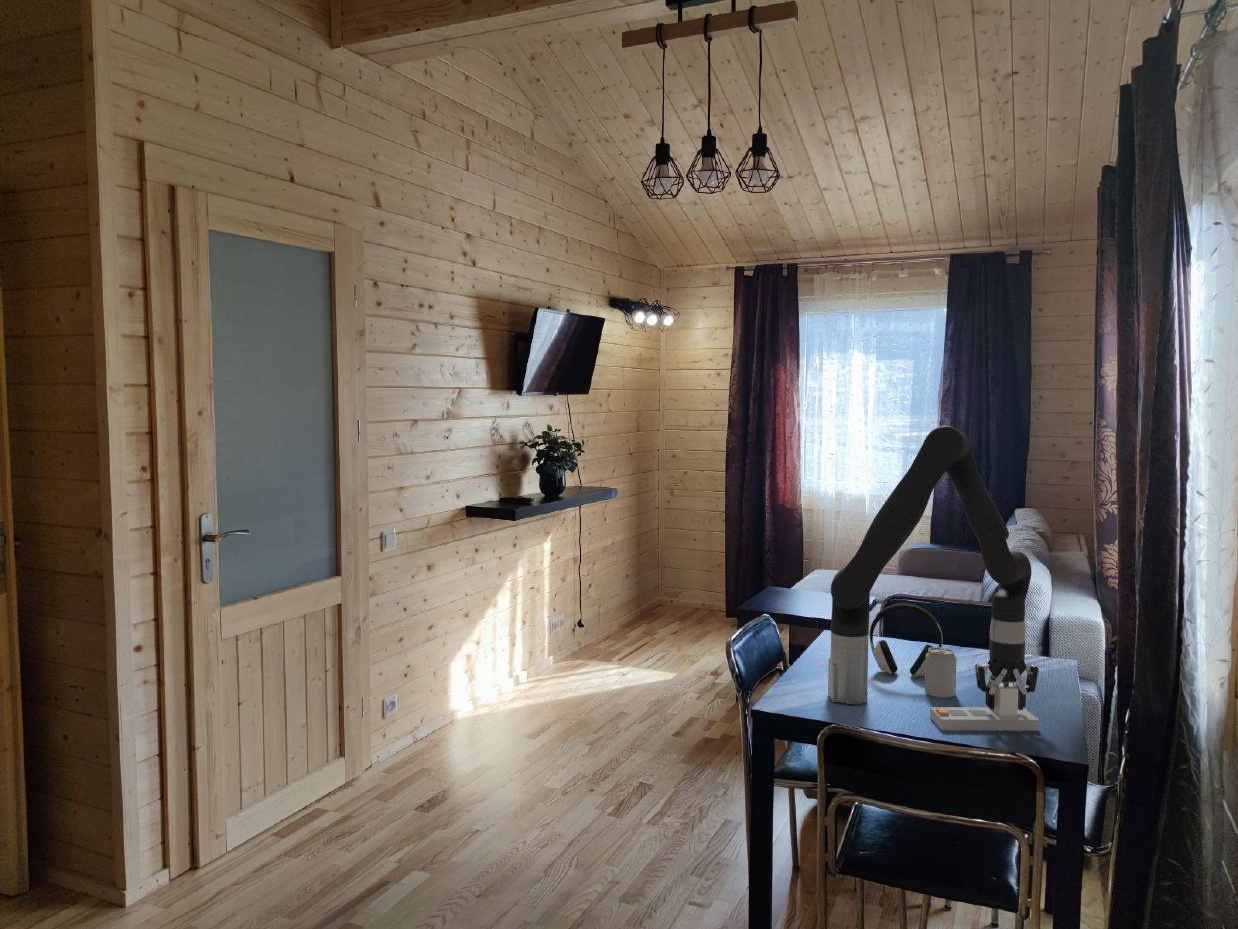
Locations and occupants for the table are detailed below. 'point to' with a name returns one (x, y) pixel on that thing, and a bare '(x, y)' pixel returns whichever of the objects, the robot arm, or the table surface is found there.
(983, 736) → the table surface
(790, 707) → the table surface
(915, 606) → the headphones
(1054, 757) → the table surface
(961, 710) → the power strip
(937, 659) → the can
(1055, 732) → the table surface
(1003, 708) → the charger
